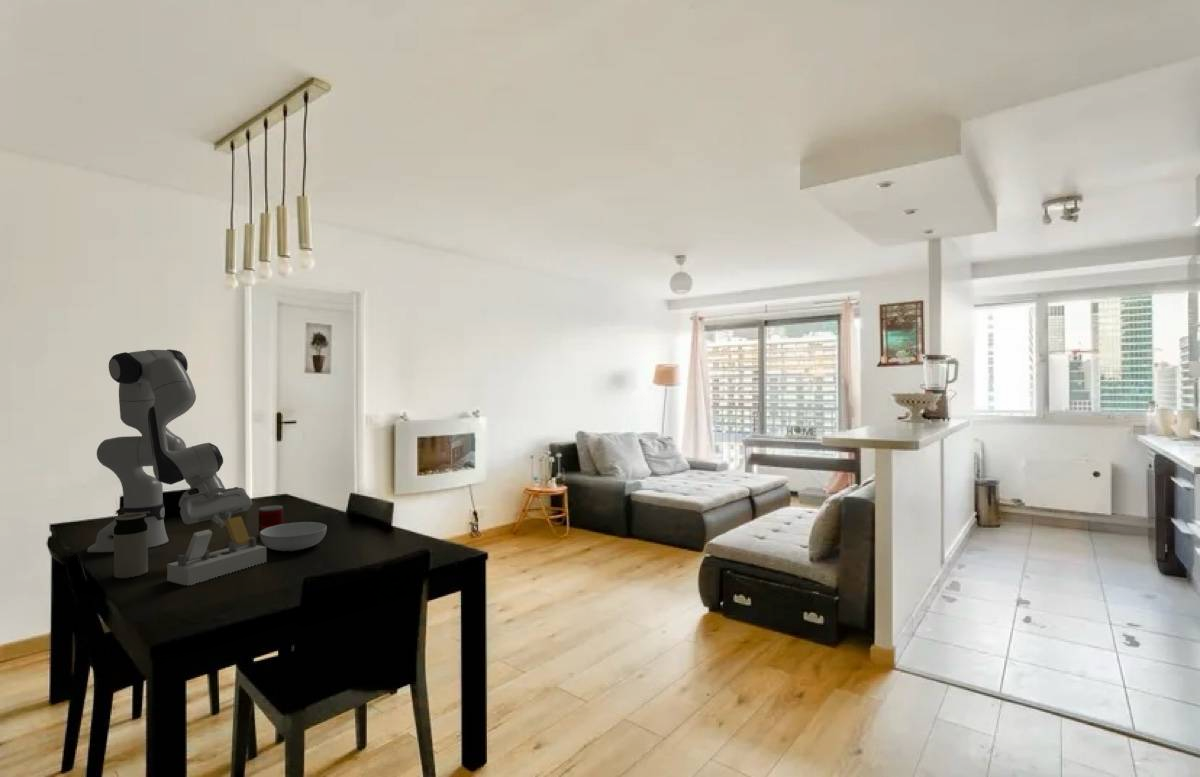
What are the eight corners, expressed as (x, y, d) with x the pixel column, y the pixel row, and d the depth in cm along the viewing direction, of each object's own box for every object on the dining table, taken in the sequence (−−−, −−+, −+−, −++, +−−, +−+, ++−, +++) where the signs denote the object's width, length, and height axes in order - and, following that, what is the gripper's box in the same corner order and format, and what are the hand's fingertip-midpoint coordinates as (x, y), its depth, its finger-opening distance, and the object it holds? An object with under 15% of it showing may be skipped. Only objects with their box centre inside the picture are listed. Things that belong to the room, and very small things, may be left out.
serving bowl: (299, 558, 193) (299, 538, 193) (245, 555, 198) (245, 534, 197) (339, 541, 214) (339, 523, 214) (289, 538, 218) (289, 520, 218)
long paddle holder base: (167, 581, 172) (167, 554, 171) (246, 558, 193) (245, 534, 193) (188, 586, 167) (188, 558, 167) (266, 562, 189) (266, 538, 189)
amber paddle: (234, 549, 185) (223, 521, 187) (249, 545, 190) (239, 518, 192) (237, 547, 185) (227, 519, 186) (252, 543, 189) (242, 515, 191)
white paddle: (182, 560, 172) (192, 533, 170) (200, 555, 176) (210, 529, 174) (186, 563, 171) (196, 536, 169) (203, 558, 176) (213, 532, 174)
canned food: (287, 535, 222) (287, 506, 222) (265, 540, 215) (265, 510, 215) (276, 532, 226) (275, 504, 226) (254, 537, 219) (254, 508, 219)
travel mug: (152, 573, 179) (152, 514, 178) (121, 580, 172) (120, 519, 172) (140, 568, 183) (140, 511, 182) (109, 576, 176) (108, 516, 176)
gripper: (239, 491, 205) (256, 522, 201) (172, 505, 188) (189, 540, 184) (245, 480, 203) (262, 511, 198) (178, 493, 185) (195, 528, 181)
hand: (226, 525), depth 191 cm, fingers closed
